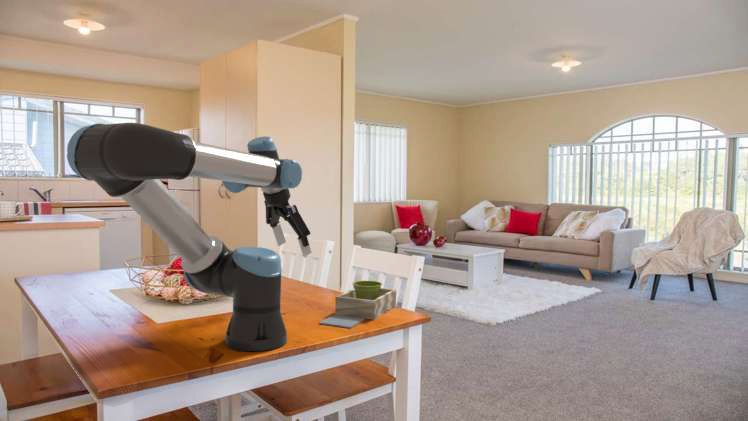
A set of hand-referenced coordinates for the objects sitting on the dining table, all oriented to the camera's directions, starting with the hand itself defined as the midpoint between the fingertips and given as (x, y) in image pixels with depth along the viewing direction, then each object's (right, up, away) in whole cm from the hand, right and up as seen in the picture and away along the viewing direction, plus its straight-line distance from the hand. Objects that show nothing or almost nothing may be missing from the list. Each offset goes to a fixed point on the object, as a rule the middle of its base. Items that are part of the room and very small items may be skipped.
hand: (294, 249), depth 165 cm
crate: (+23, -20, +3) cm, 30 cm away
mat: (+16, -20, -12) cm, 28 cm away
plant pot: (+23, -20, +3) cm, 30 cm away
